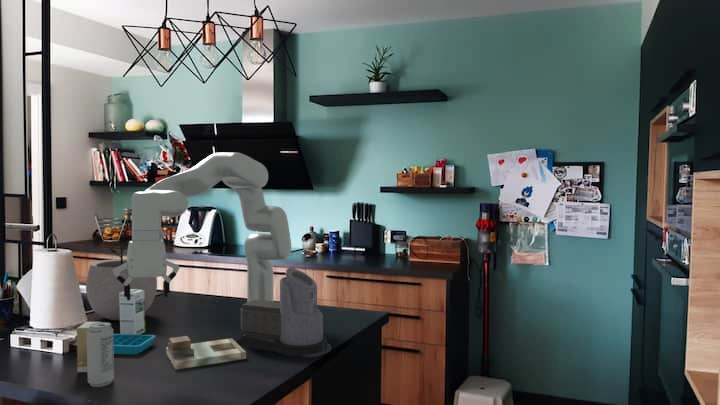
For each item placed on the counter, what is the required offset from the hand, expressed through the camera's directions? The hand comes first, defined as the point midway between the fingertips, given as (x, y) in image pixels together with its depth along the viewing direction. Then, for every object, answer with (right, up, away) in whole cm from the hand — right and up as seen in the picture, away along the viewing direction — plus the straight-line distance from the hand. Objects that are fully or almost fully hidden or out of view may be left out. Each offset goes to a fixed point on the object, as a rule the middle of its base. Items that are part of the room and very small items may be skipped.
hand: (147, 297), depth 152 cm
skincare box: (-14, -19, -3) cm, 24 cm away
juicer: (+36, -19, +19) cm, 44 cm away
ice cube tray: (-15, -19, +15) cm, 28 cm away
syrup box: (-16, -18, +30) cm, 39 cm away
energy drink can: (-6, -20, -13) cm, 25 cm away
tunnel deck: (+14, -19, +8) cm, 25 cm away
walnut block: (+8, -17, +4) cm, 19 cm away
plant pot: (-28, -17, +50) cm, 60 cm away
